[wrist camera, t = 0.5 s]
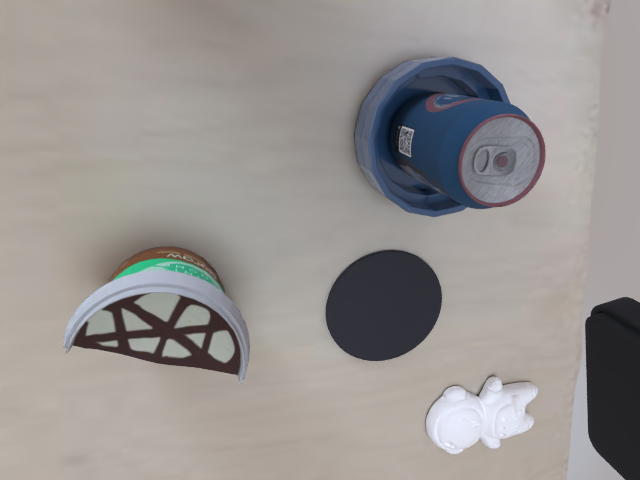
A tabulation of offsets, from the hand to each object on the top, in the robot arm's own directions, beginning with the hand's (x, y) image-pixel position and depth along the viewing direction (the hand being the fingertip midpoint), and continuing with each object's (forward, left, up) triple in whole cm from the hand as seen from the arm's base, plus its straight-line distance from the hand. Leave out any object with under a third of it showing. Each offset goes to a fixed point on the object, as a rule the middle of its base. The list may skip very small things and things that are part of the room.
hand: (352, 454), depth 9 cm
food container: (+9, -6, -34) cm, 36 cm away
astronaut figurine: (+32, +20, -34) cm, 51 cm away
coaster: (+17, +11, -34) cm, 39 cm away
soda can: (+2, +16, -34) cm, 37 cm away
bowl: (+2, +16, -34) cm, 37 cm away
